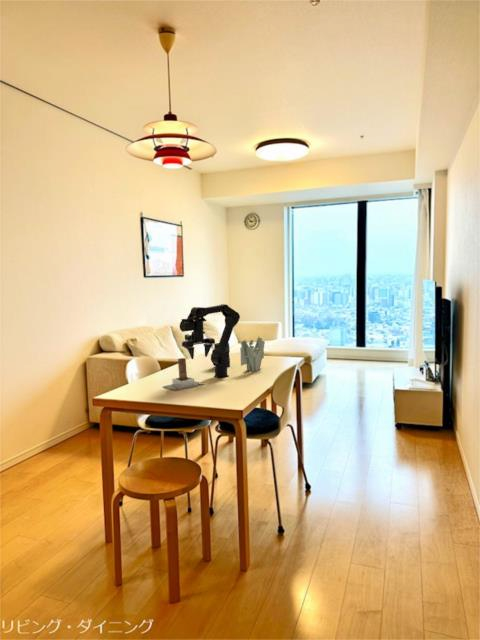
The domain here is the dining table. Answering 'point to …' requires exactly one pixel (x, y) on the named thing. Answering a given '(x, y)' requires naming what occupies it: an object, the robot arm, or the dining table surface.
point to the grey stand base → (182, 384)
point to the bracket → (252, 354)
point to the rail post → (182, 369)
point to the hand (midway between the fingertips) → (199, 358)
